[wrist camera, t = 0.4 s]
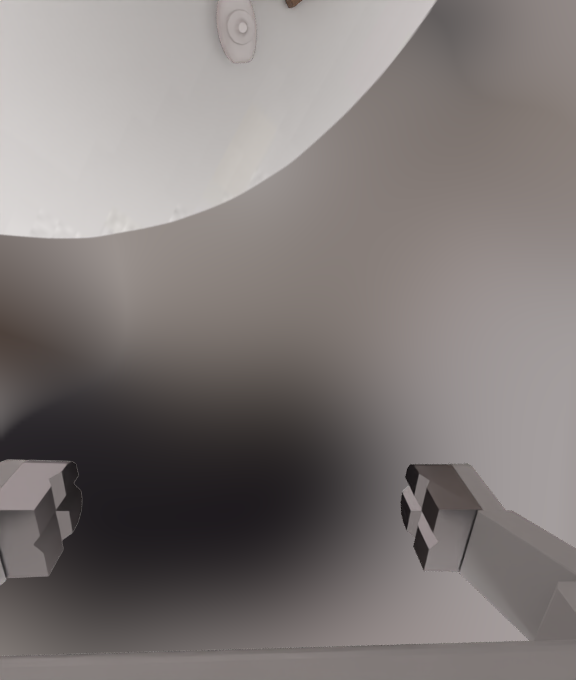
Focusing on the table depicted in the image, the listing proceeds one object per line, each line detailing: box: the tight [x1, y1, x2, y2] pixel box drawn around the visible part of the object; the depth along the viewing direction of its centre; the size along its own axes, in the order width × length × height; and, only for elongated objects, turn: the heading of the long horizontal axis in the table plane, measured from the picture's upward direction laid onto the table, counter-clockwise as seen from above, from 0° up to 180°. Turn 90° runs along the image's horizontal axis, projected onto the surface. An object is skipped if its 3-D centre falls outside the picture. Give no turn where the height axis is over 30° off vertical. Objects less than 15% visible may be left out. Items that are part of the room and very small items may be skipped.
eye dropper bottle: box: [216, 0, 257, 64], centre depth 38 cm, size 4×6×12 cm
